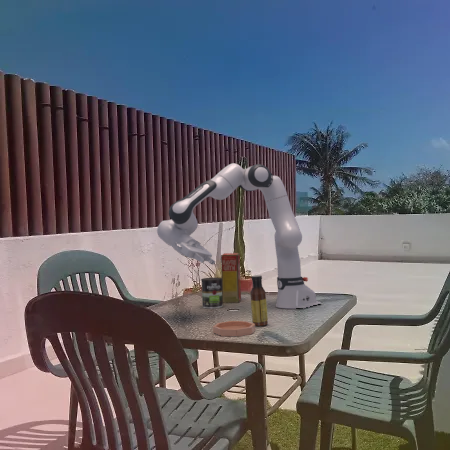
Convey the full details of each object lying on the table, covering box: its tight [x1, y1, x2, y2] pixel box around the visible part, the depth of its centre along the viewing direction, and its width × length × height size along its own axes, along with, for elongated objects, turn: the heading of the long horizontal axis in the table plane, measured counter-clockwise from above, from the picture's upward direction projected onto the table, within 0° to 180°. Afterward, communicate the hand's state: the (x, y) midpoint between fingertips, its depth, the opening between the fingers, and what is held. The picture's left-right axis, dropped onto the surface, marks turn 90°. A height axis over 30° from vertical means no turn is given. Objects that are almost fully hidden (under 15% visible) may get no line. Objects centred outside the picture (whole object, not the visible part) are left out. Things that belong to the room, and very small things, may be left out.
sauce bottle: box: [250, 274, 269, 327], centre depth 194 cm, size 6×6×20 cm
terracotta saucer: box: [212, 320, 256, 337], centre depth 184 cm, size 15×15×2 cm
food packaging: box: [220, 252, 242, 304], centre depth 256 cm, size 13×9×25 cm
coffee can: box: [200, 277, 224, 310], centre depth 240 cm, size 10×10×14 cm
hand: (208, 262), depth 207 cm, fingers open, 8 cm apart
